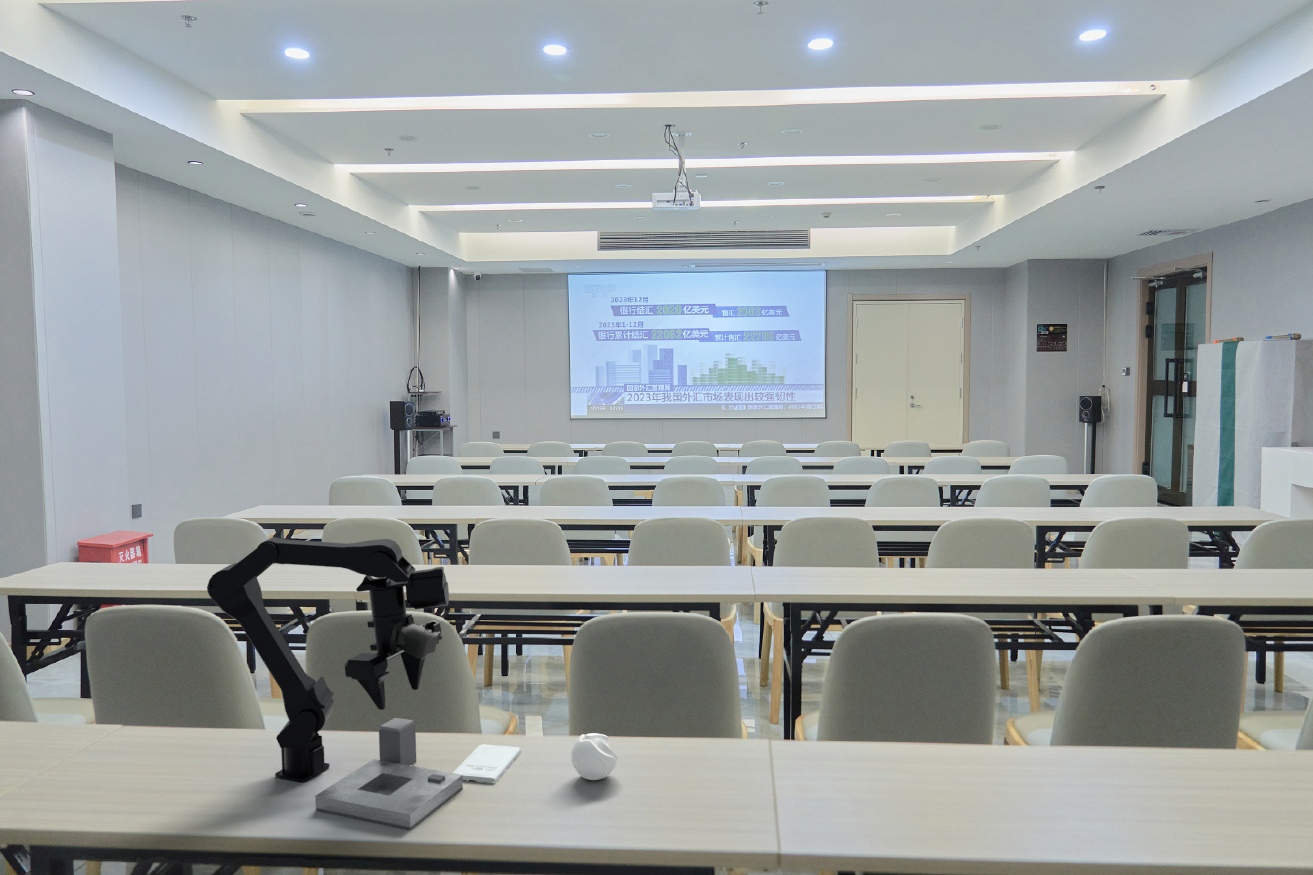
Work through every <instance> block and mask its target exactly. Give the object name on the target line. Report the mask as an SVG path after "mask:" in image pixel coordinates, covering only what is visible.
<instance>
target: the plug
mask: <svg viewBox="0 0 1313 875" xmlns="http://www.w3.org/2000/svg"><path fill="white" fill-rule="evenodd" d="M379 726H380V728H379V729H378V740H379V741H378V745H379V746H378V748H379V760H381V761H386V762H392V763H398V764H404V765H409V766H410V765H411V766H413V765H414V764H415V763H417V742H416V741H417V735H416V723H414V720H413V719H406V718H399V717H393V718H392V719H390V720H388V721H387V722H385V723H382V724H381V725H379Z"/></svg>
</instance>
